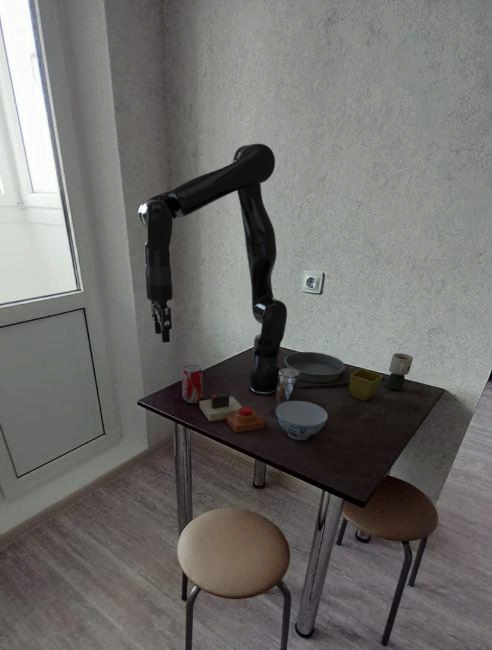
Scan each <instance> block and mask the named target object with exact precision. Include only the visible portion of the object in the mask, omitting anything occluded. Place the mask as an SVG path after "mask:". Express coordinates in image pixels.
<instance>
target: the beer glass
mask: <svg viewBox="0 0 492 650" xmlns="http://www.w3.org/2000/svg"><path fill="white" fill-rule="evenodd" d="M299 380H300V379H299V372H298V371H297V370H294V369H289V368H287V367H286V368H285V367H284V368H280V370H279V371H278V376H277V382H276V392H275V398H276V404H275V408H274V410H273V414H274V416H276V417H277V407H278V406H279V405H280V404H282V403H285V402H289V401H295V400H296V399H295V398H296V395H297V393H298V389H299V388H298V387H299Z"/></svg>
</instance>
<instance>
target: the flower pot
mask: <svg viewBox="0 0 492 650" xmlns="http://www.w3.org/2000/svg"><path fill="white" fill-rule="evenodd" d="M383 377H384V375H382V374H379V373H376V372H374V371H370V370H367V369H363V368H359V369H357V370H356V371H354V372H352V373H351V374H350V375H349V382H350V384H348V389H349V393H350V396H351V397H352V398H354V399H356V400H359V401H362V402H366V401H368V400H370V399H371V398H372V397H373V396H374V395H375V394H376V392H377V391H378V389H379V387H380V385H381V382H382V381H383V379H382V378H383Z"/></svg>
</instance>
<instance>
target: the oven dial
mask: <svg viewBox="0 0 492 650" xmlns="http://www.w3.org/2000/svg"><path fill="white" fill-rule="evenodd" d="M210 397H211V398H210V399H211V407H212V408H213V409H216V408H223V407H229V397H230V395H229V393H220V394H212V395H211V396H210Z"/></svg>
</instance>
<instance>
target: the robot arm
mask: <svg viewBox="0 0 492 650" xmlns="http://www.w3.org/2000/svg"><path fill="white" fill-rule="evenodd" d="M275 167H276V157H275V153H274V152H273V150H272V148H271V147H270V146H268V145H267V144H265V143H251V144H245V145H241V146H240V147H238V148H237V149H236V150H235V152H234V154H233V158H232V162H231V163H230V164H228V165H226V166H223V167H221V168H219V169H216V170H213V171H210V172H207V173H205V174H201V175H199V176H197V177H194V178H191V179H189V180H187V181H185V182H183V183H181V184H180V185H178V186H176V187H175V188H173V189H170V190H168V191H165V192H162V193H160V194H157V195H155V196H152V197H150V198H147V199H146V200H145V201H143V202H142V203H141V205H140V206H139V209H138V219H139V221H140V223H141V224H142V225H143V226H144V227H145V228H147V241H146V242H145V244H144V246H143V247H144V249H143V250H144V266H145V267H144V268H145V269H144V278H145V291H146V298H147V300H148V301H150V306H151V318H152V320H153V322H154V334H156V335H161V342H162V343H166V344H167V343H170V341H171V338H170V337H171V335H170V330H173V323H172V322H173V321H172V307H170V306H169V305H168V302H169V301H171V300H172V299H173V298H174V285H173V268H172V259H171V257H172V256H171V244H172V238H173V229H174V220H175V219H177V218H183V217H188V216H189V215H191V214H193V213H196V212H197V211H199V210H201V209H203V208H205V207H206V206H208V205H210V204H212V203H214V202H216V201H218V200H220V199H221V198H223V197H226V196H228V195H230V194H233V193H234V192H237V197H238V201H239V206H240V211H241V220H242V226H243V233H244V242H245V251H246V257H247V263H248V270H249V278H250V285H251V287H250V288H251V310H252V315H253V318H254V319H255V320H256V322H258V323H259V324H261V330H260V333H259V334H257V335H255V336H254V339H253V349H252V352H253V353H252V363H251V374H250V375H249V379H250V385H249V390H250V392H252V393H253V394H256V395H260V396H269V395H273V394H274V393H276V382H277V376H278V371H279V370H280V369H281V367H280V366H279V360H280V352H281V344H282V341H283V339H284V337H285V332H286V327H287V319H288V308H287V306H286V304H285V303H284V302H283V301H282V300H280V299H277V298H275V297H274V293H273V286H272V285H273V284H272V277H273V271H274V268H275V265H276V261H277V255H278V253H277V252H278V251H277V239H276V232H275V228H274V226H273V222H272V220H271V218H270V216H269V214H268V211H267V209H266V207H265V203H264V201H263V194H262V185H261V184H263V183H265V182H267V181H268V180H269V179H270V178H271V176H272V175H273V173H274V171H275ZM382 380H385V376H383V378H382ZM349 384H350V381H349V382H342V383H334V384H314V385H312V384H311V385H304V386H303V385H302V386H298V389H309V388H331V387H341V386H347V385H348V386H349Z"/></svg>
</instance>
